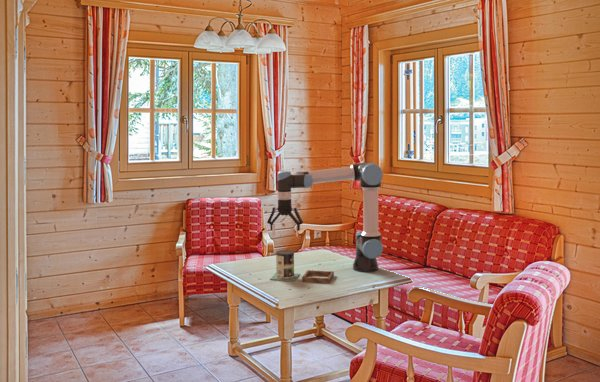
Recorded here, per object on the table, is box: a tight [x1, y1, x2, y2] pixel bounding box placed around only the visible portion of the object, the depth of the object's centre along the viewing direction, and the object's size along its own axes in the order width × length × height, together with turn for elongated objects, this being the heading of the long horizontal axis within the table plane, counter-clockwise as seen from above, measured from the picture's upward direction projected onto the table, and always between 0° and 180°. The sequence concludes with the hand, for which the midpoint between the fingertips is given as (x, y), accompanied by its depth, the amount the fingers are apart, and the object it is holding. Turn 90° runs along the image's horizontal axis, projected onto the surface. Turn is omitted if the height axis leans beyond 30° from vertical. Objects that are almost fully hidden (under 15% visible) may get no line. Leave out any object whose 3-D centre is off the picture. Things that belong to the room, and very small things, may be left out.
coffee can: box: [275, 249, 295, 279], centre depth 334 cm, size 10×10×14 cm
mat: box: [269, 272, 301, 282], centre depth 335 cm, size 14×14×1 cm
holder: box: [301, 269, 335, 284], centre depth 332 cm, size 15×15×2 cm
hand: (285, 236), depth 332 cm, fingers open, 13 cm apart
